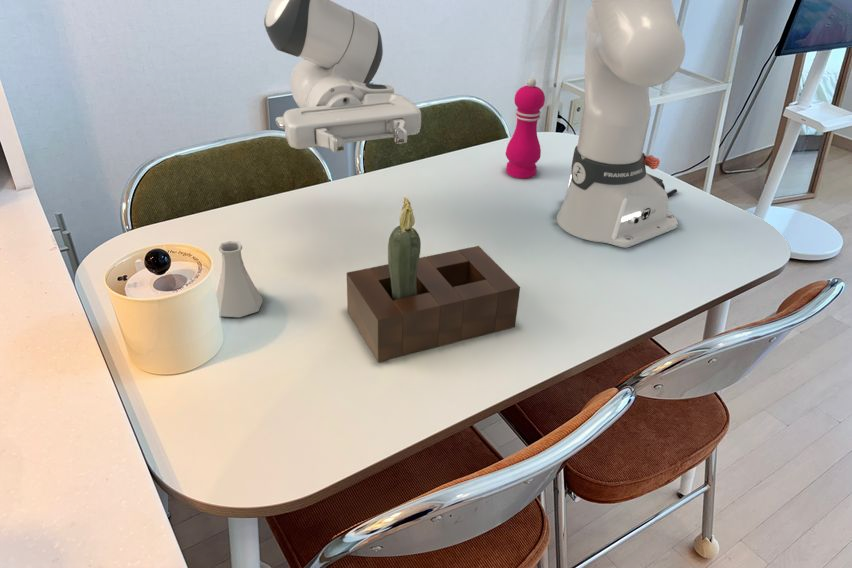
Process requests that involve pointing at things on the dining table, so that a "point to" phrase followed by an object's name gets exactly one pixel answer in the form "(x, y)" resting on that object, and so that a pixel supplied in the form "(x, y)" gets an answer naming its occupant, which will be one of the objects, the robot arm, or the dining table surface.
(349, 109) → the robot arm
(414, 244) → the vegetable
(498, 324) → the holder
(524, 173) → the pepper mill
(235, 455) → the dining table surface
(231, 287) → the flask
